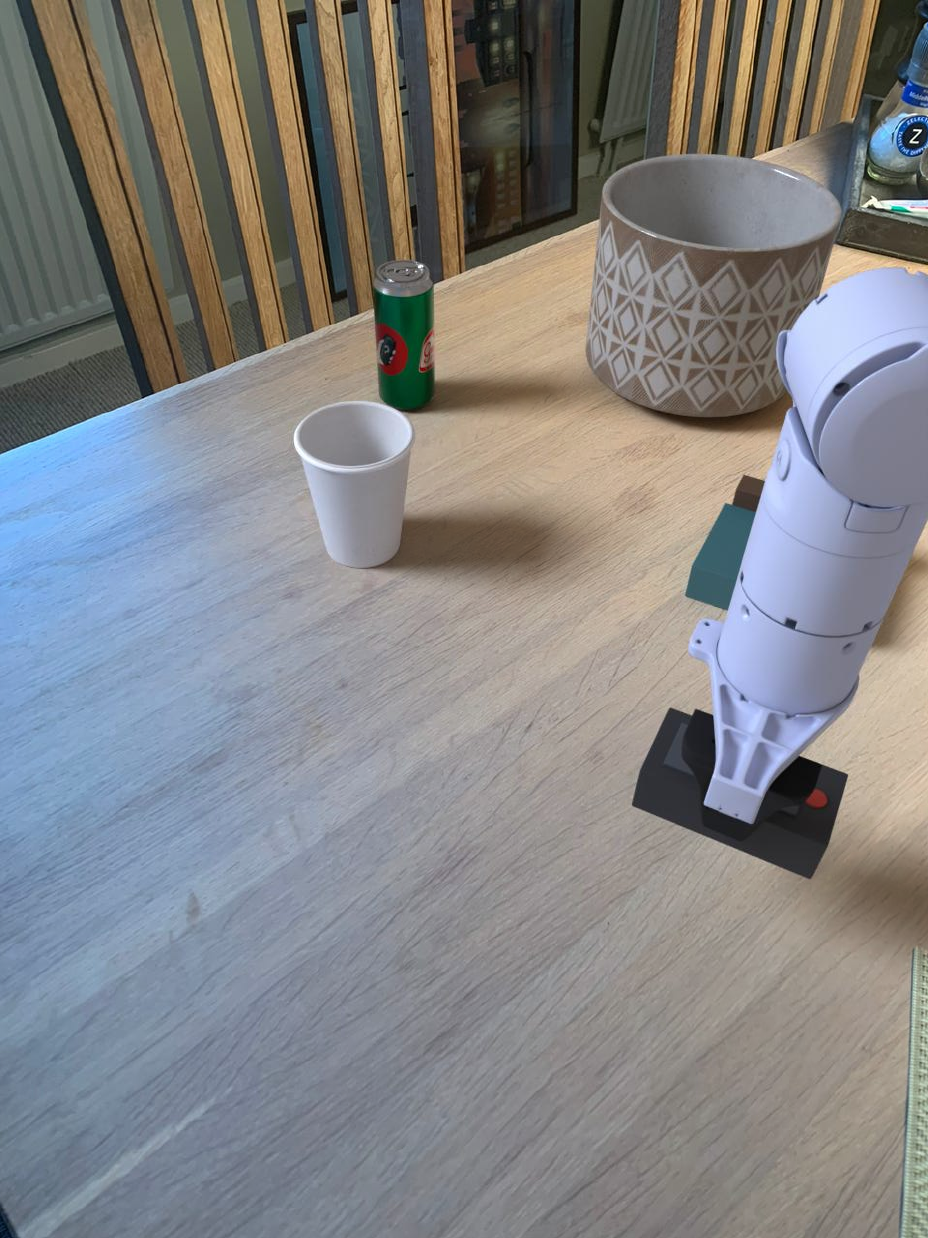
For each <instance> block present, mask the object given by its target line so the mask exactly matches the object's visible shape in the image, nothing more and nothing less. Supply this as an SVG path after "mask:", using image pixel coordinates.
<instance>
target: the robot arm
mask: <svg viewBox="0 0 928 1238" xmlns="http://www.w3.org/2000/svg"><path fill="white" fill-rule="evenodd" d="M776 359H777V366H778V370H779V373H780V375H781V378H782V381H783V383H784V386H785V387H786V389H787V393H788V394H789V395H790V397H791V399H792V407H790V408H789V409H788V410H787V411H786V413H785V417H784V421H783V424H782V427H781V431H780V434H779V438H778V441H777V445H776V448H775V452H774V455H773V458H772V461H771V464H770V467H769V469H768V471H767V474H766V477H765V480H764V481H765V483H764V487H763V490H762V494H761V497H760V501H759V504H758V508H757V511H756V515H755V518H754V521H753V525H752V528H751V532H750V535H749V539H748V542H747V546H746V549H745V553H744V556H743V560H742V563H741V567H740V571H739V574H738V577H737V581H736V584H735V588H734V591H733V595H732V598H731V602H730V605H729V609H728V610H727V613H726V615H725V619H724V621H719V620H716V619H714V618H707V617H706V618H702V619H700V620H699V621H698V622H697V624H696V626H695V628H694V630H693V632H692V634H691V636H690V638H689V643H688V645H687V652H688V654H689V656H691V657H692V658H694V659H696V660H699V661H701V662H704V663H705V664H706V665H707V666H708V668H709V674H710V686H711V687H710V688H711V702H712V703H711V704H712V713H709V712H706V711H704V710H701V709H698V708H694V710H693V713H692V714H691V715H692V717H691V719H690V721H689V724H688V726H687V728H686V730H685V733H684V736H683V739H682V746H681V751H682V759H683V760H684V762H685V763H686V764H687V765H688V767H689V768H690V769H691V771H692V772H693V774H694V776H695V778H696V780H697V784H698V789H699V805H700V816H701V821H702V825H703V826H704V827H706V828H709V829H711V830H714V831H716V832H718V833H721V834H723V835H726V836H728V837H731V838H733V839H735V840H738V841H743V840H745V839H746V838H747V837H749V836H750V835H751V834H752V833H753V832H754V831H755V830H756V829H757V828H758V827H759V826H760V825H761V824H762V823H763V822H764V821H765V820H766V819H767V818H768V817H769V816H770V815H771V814H773V813H775V812H776V811H778V810H780V809H783V808H786V807H792V806H799V805H802V804H803V803H804V802H805V801H806V800H807V799H808V798H809V797H810V796H811V795H812V793H813V792H814V789H815V787H816V784H817V781H818V778H819V774H820V771H821V768H822V765H823V763H820V762H818V761H815V760H812V759H809V758H807V757H804V756H801V755H802V753H804V752H805V751H806V750H807V749H808V748H809V747H810V746H811V745H812V744H813V743H814V742H815V741H817V740H818V738H819V737H820V736H821V735H822V734H823V733H825V732H826V730H828V729H829V728H830V727H831V726H832V725H833V724H834V723H835V722H836V721H837V720H838V719H839V718H840V717H842V715H843V714H844V713H845V712H846V711H847V710H848V709H849V708H850V706H851V704H852V702H853V700H854V698H855V696H856V694H857V691H858V689H859V685H860V672H861V670H862V668H863V666H864V664H865V661H866V659H867V658H868V654H869V652H870V650H871V648H872V646H873V644H874V641H875V639H876V637H877V635H878V632H879V630H880V628H881V626H882V623H883V621H884V619H885V616H886V614H887V612H888V609H889V607H890V605H891V603H892V600H893V598H894V596H895V594H896V592H897V589H898V587H899V585H900V583H901V581H902V578H903V576H904V574H905V571H906V570H907V567H908V565H909V563H910V560H911V558H912V556H913V554H914V551H915V549H916V547H917V546H918V543H919V540H920V538H921V536H922V534H923V532H924V530H925V527H926V525H927V523H928V274H927V273H926V272H923V271H920V270H916V271H915V273H909V271H908V270H907V268H906V267H901V266H898V267H897V266H893V267H892V266H891V267H890V266H889V267H878V268H873V269H868V270H865V271H861V272H858V273H855V274H852V275H850V276H848V277H846V278H844V279H842V280H840V281H838V282H836V283H835V284H833V285H831V286H830V287H828V288H827V289H825V290H824V292H823V293H821V294H820V295H819V297H818V298H817V299H814V300H813V301H812V302H811V303H810V304H809V306H808V307H807V308H806V309H805V310H804V311H803V312H802V314H801V315H800V317H799V318H798V320H797V321H796V323H795V324H794V326H793V328H792V330H784V331H782V332H780V334H779V336H778V340H777V347H776Z"/></svg>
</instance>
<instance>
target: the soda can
mask: <svg viewBox="0 0 928 1238" xmlns="http://www.w3.org/2000/svg"><path fill="white" fill-rule="evenodd" d="M372 298H373V299H372V300H373V316H374V317H373V318H374V333H375V349H376V351H375V352H376V367H377V368H376V369H377V370H376V371H377V385H378V386H377V388H378V396H379V398H380V400H381V401H382V402H384V403H385V405H387V406H389V407H392V408H394V409H396V410H398V411H415V410H418V409H422V408H424V407H425V406H427V405H428V404H429V403H430V402H431V401H432V400H433V398H434V397H435V395H436V354H435V353H436V352H435V350H436V348H435V344H436V342H435V341H436V340H435V282H434V280H433V278H432V276H431V275H430V270H429V267H427V266H426V264H424V263H422V262H420V261H416V260H411V259H396V260H390V261H387V262H384V263H382V264H381V265H379V266H378V267H377V269H376V276H375V278H374V279H373V282H372Z"/></svg>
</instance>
